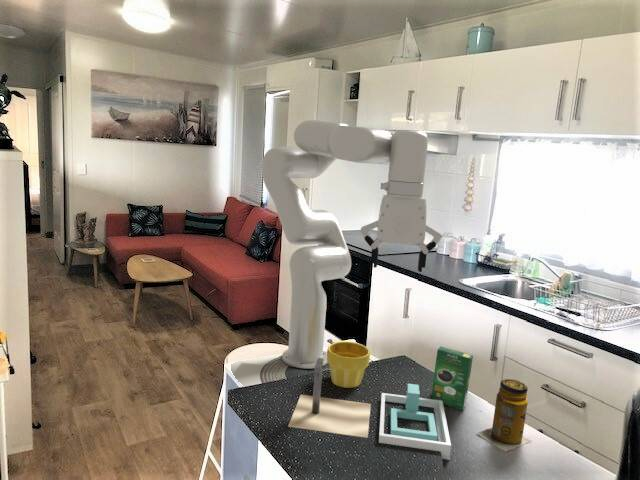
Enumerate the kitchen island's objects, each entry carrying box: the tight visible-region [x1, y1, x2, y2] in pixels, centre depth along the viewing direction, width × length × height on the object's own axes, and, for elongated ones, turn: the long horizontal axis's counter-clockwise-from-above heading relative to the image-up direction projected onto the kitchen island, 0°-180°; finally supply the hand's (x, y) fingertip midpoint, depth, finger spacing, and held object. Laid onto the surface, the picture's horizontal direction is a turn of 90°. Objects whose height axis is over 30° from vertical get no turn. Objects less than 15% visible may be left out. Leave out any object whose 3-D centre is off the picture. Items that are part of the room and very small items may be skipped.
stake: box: [312, 358, 324, 414], centre depth 106 cm, size 5×2×11 cm, turn 172°
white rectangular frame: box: [378, 392, 452, 461], centre depth 105 cm, size 18×14×3 cm
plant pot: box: [326, 341, 371, 389], centre depth 122 cm, size 10×10×10 cm
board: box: [287, 394, 372, 439], centre depth 106 cm, size 14×16×2 cm
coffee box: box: [430, 345, 474, 411], centre depth 117 cm, size 8×3×13 cm, turn 59°
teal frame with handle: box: [390, 383, 438, 441], centre depth 105 cm, size 9×14×6 cm, turn 172°
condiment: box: [476, 378, 532, 452], centre depth 104 cm, size 7×8×12 cm
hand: (397, 268), depth 109 cm, fingers open, 9 cm apart
